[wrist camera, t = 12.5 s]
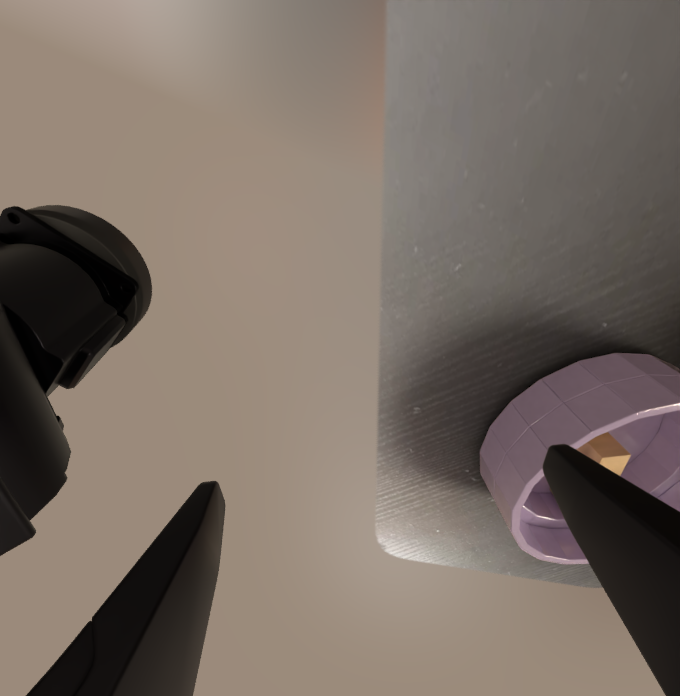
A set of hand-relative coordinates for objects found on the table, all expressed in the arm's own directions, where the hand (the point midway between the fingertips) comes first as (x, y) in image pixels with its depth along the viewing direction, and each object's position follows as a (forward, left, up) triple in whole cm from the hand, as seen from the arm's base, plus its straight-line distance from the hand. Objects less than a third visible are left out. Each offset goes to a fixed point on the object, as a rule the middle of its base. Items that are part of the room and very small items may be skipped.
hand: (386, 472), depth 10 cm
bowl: (+21, +3, -12) cm, 24 cm away
